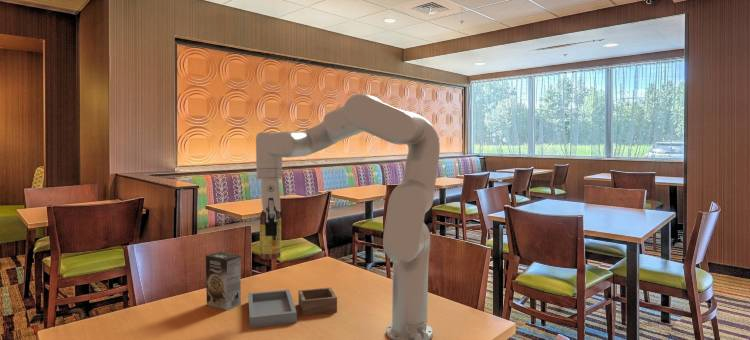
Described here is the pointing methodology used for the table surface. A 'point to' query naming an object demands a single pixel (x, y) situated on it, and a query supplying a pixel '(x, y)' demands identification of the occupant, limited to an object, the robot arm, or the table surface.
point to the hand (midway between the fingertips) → (270, 232)
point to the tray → (271, 308)
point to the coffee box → (223, 280)
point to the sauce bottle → (270, 239)
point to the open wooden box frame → (317, 301)
